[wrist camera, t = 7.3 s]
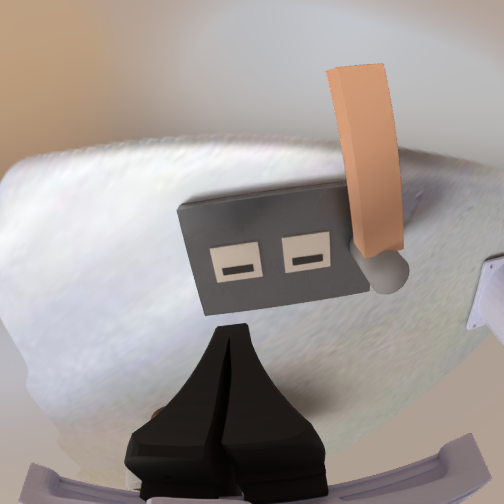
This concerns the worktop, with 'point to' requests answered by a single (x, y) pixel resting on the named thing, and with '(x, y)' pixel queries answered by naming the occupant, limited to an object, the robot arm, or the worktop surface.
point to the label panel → (272, 248)
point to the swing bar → (371, 172)
